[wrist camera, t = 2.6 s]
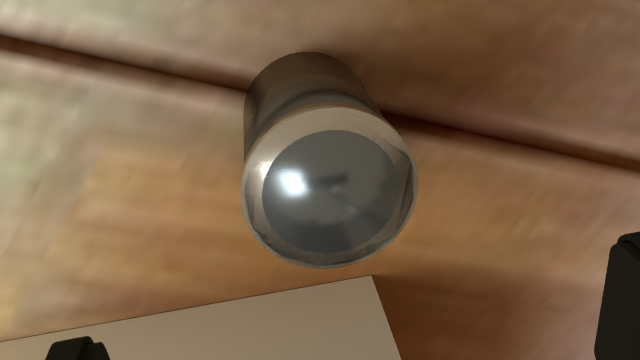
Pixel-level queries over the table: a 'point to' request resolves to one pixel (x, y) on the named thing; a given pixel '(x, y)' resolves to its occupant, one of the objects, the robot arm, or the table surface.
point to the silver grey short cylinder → (322, 165)
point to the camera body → (245, 329)
